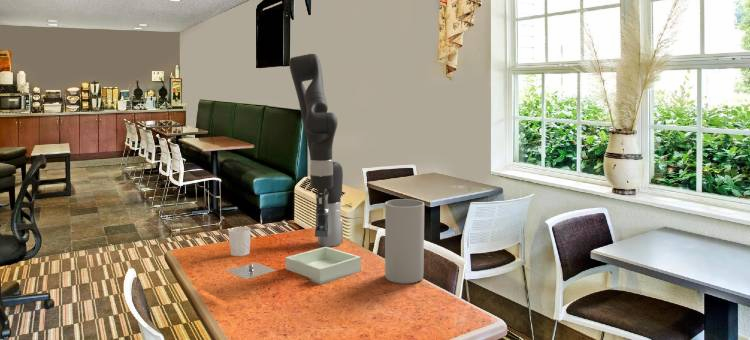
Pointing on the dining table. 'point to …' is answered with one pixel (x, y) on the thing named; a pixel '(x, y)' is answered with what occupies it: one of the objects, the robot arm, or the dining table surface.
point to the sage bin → (324, 264)
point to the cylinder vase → (404, 240)
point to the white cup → (239, 241)
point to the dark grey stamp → (322, 230)
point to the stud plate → (251, 270)
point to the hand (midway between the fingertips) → (322, 223)
